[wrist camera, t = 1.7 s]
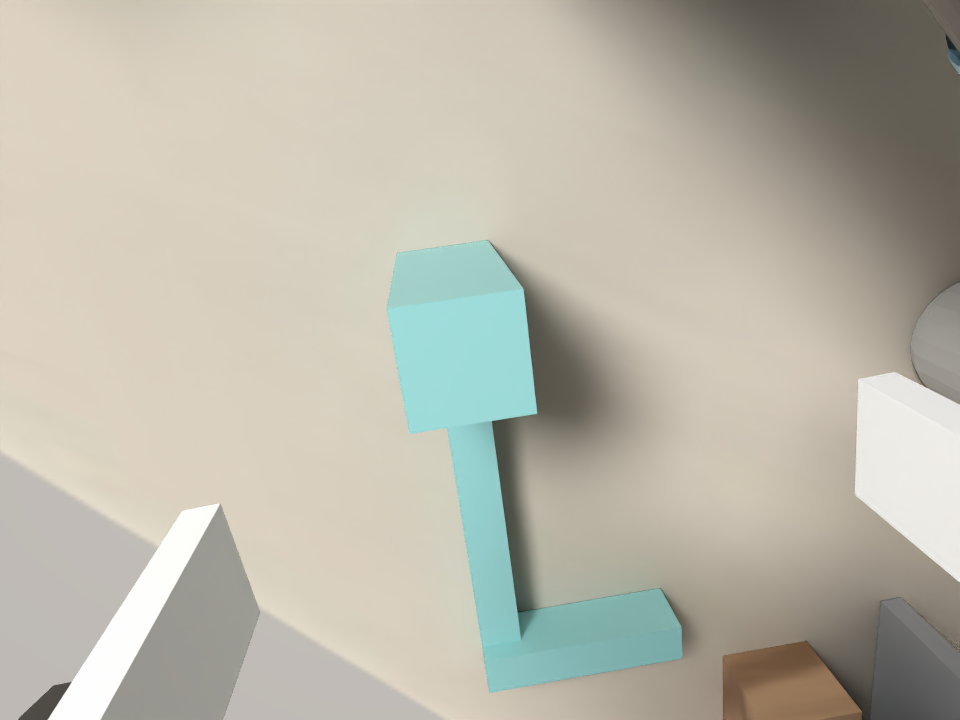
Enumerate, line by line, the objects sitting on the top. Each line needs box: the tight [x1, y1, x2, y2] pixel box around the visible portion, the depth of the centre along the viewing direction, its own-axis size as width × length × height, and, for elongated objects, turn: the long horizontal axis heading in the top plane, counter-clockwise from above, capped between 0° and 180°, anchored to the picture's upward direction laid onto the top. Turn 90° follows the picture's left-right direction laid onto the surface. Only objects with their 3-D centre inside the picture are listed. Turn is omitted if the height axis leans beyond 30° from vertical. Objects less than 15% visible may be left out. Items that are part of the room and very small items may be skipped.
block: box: [723, 641, 862, 720], centre depth 36 cm, size 5×5×5 cm
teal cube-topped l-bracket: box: [387, 240, 683, 693], centre depth 27 cm, size 22×11×10 cm, turn 7°
